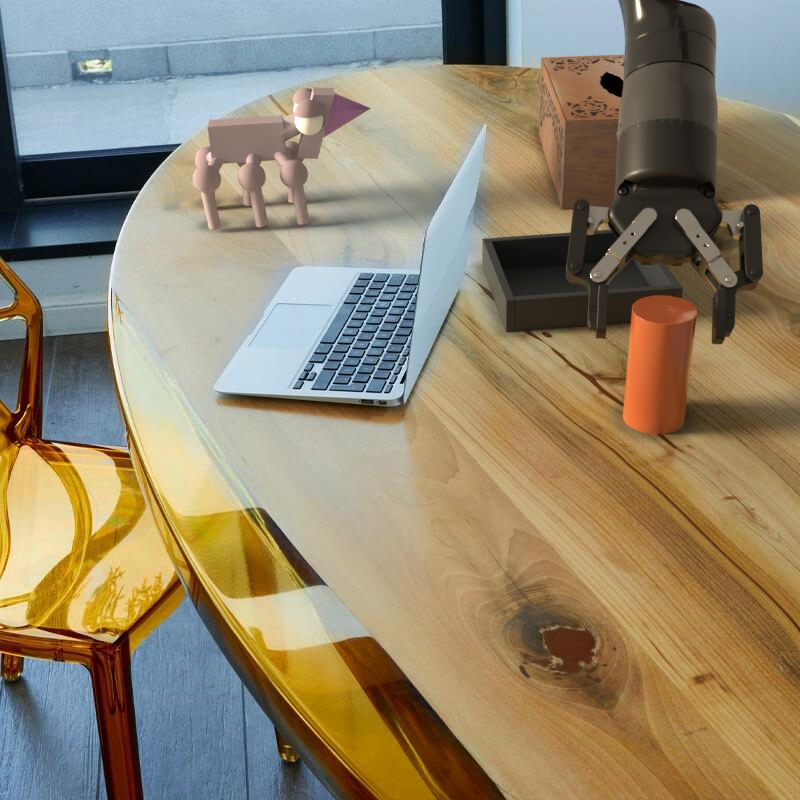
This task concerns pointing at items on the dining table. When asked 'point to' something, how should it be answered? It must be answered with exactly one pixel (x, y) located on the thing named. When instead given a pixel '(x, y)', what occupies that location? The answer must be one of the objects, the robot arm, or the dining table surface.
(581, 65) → the tissue box cover
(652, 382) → the canister
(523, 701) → the dining table surface
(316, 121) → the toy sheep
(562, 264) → the tray
